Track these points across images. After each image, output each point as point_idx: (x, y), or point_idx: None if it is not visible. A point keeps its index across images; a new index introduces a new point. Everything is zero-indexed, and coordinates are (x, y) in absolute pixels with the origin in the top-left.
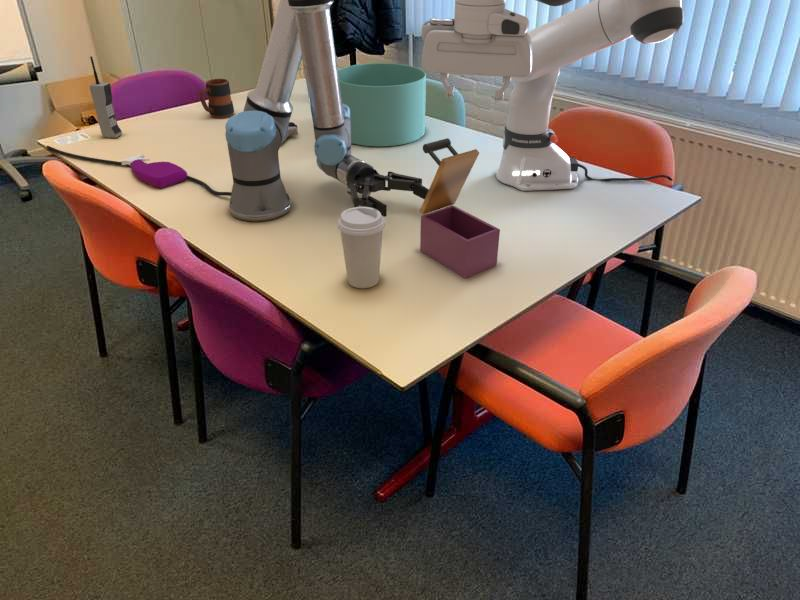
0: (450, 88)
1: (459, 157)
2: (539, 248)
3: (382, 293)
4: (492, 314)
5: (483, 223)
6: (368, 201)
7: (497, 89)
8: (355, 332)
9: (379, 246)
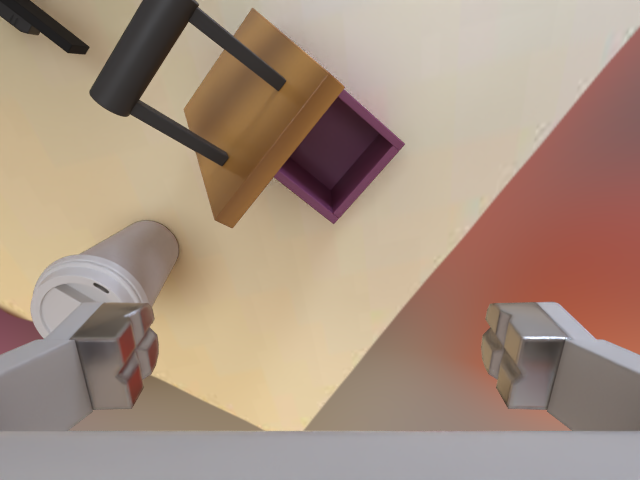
0: (106, 404)
1: (273, 171)
2: (487, 23)
3: (198, 275)
4: (389, 294)
5: (361, 117)
6: (6, 13)
7: (530, 348)
8: (198, 373)
9: (157, 292)
